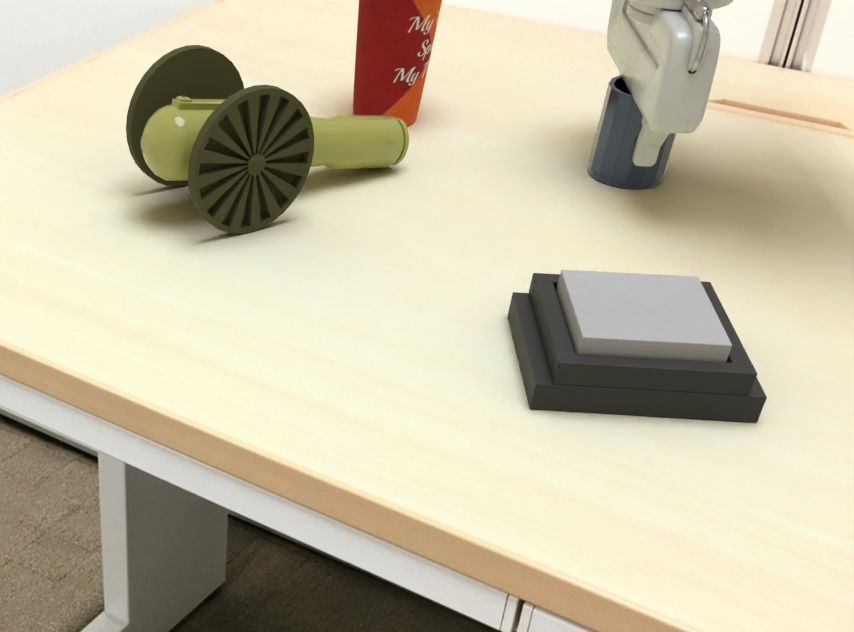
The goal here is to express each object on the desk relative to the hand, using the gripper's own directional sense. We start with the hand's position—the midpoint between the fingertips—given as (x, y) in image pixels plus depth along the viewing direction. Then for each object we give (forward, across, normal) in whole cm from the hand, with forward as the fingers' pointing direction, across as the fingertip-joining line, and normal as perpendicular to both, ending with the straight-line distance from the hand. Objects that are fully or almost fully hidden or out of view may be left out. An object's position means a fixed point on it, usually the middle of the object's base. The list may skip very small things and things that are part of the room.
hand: (632, 144), depth 105 cm
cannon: (+3, -7, +30) cm, 31 cm away
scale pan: (0, -32, +6) cm, 33 cm away
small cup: (+3, 0, 0) cm, 3 cm away
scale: (+3, -32, +6) cm, 33 cm away
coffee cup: (+3, +11, +20) cm, 23 cm away
